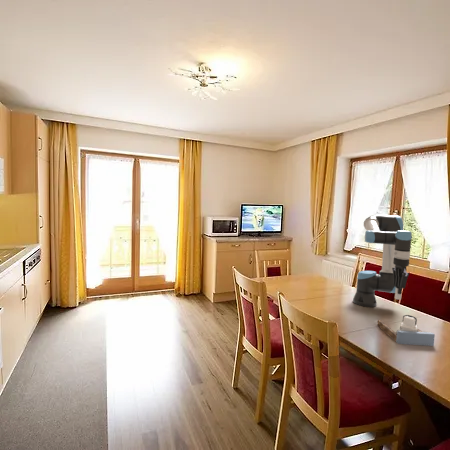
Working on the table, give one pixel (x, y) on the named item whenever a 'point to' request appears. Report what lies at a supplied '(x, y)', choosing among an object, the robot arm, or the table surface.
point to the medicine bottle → (409, 323)
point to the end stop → (415, 338)
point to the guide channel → (389, 330)
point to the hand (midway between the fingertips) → (397, 298)
